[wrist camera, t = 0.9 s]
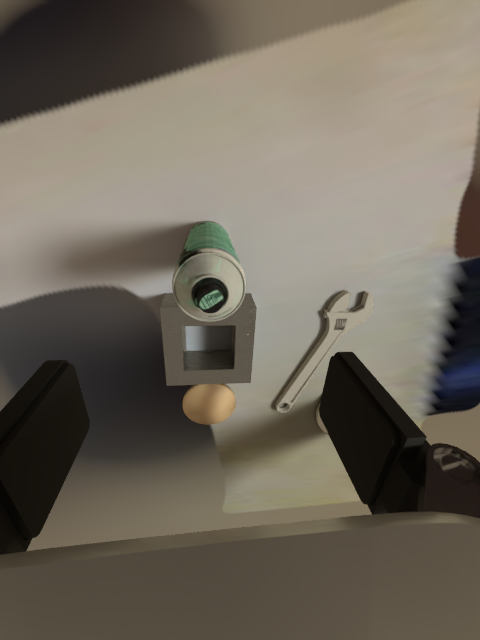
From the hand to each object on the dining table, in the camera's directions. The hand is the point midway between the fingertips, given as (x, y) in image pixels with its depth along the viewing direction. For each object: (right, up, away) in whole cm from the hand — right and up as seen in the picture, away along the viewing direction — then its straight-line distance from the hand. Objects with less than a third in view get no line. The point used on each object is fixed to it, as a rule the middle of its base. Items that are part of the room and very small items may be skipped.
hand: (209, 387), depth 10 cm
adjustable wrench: (+13, -3, +35) cm, 38 cm away
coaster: (-4, -12, +37) cm, 39 cm away
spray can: (-3, +13, +25) cm, 28 cm away
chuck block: (-4, +1, +31) cm, 31 cm away
